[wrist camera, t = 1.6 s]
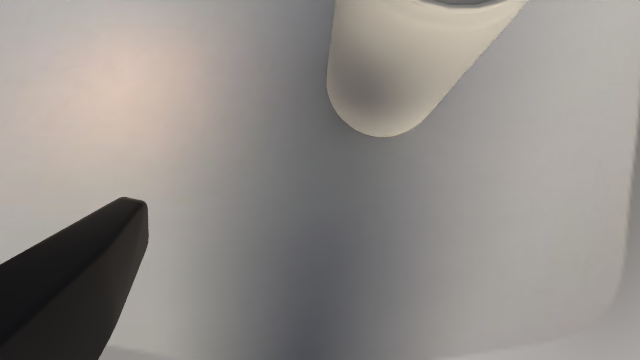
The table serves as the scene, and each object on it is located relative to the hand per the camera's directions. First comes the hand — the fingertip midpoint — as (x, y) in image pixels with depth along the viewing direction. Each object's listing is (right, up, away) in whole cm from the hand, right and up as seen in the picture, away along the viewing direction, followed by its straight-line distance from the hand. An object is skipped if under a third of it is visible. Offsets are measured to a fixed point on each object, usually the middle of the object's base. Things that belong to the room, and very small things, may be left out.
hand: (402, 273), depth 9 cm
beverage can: (+1, +6, +14) cm, 16 cm away
